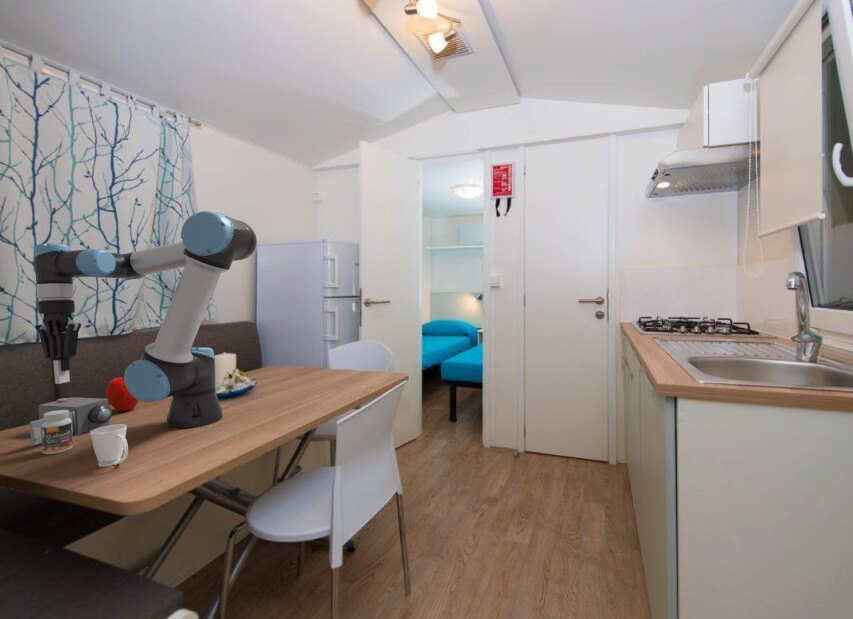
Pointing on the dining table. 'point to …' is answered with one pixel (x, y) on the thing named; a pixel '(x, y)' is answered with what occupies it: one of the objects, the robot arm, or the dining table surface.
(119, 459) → the cup
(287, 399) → the dining table surface
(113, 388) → the apple
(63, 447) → the pill bottle
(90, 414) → the camera body
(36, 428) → the side door
